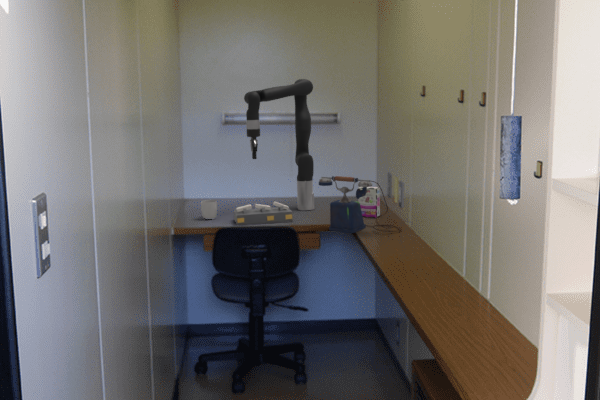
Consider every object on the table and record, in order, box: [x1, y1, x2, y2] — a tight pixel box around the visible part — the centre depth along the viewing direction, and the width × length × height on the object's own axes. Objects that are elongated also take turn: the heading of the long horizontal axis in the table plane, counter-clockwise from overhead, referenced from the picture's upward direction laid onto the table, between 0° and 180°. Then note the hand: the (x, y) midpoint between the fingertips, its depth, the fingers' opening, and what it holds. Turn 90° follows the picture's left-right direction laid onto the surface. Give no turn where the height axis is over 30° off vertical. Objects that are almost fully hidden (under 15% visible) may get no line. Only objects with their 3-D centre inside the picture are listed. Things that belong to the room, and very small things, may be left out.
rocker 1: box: [235, 203, 253, 212], centre depth 343 cm, size 8×4×2 cm, turn 102°
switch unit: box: [233, 206, 293, 226], centre depth 346 cm, size 30×14×8 cm, turn 102°
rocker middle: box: [254, 203, 272, 210], centre depth 345 cm, size 8×4×2 cm, turn 103°
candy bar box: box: [357, 186, 381, 219], centre depth 350 cm, size 11×5×16 cm, turn 62°
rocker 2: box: [272, 200, 290, 210], centre depth 348 cm, size 8×4×2 cm, turn 103°
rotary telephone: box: [318, 175, 401, 234], centre depth 321 cm, size 41×22×27 cm, turn 58°
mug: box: [200, 199, 218, 219], centre depth 357 cm, size 13×9×10 cm
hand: (254, 159), depth 357 cm, fingers closed
